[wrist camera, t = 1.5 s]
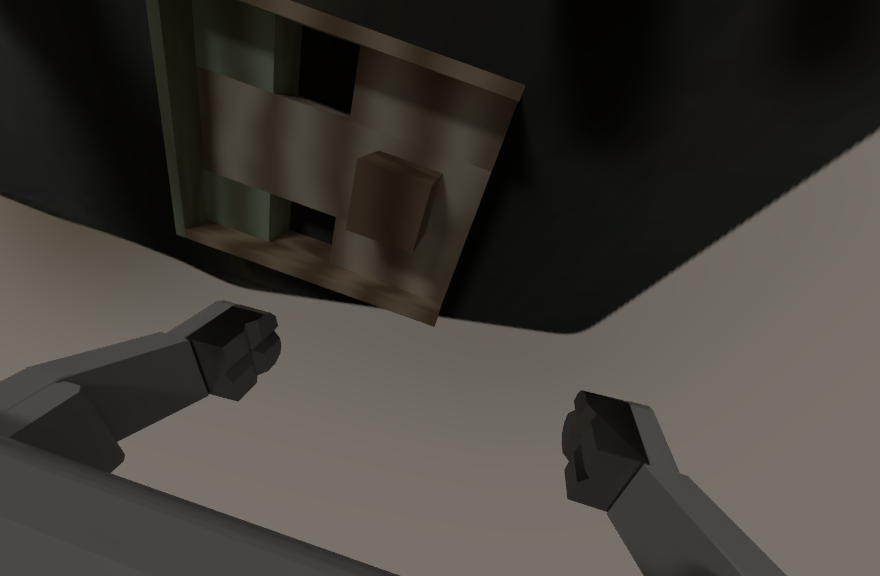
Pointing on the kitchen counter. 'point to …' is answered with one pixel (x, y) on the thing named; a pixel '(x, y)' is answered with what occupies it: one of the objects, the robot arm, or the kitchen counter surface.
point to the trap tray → (318, 143)
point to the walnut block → (391, 200)
